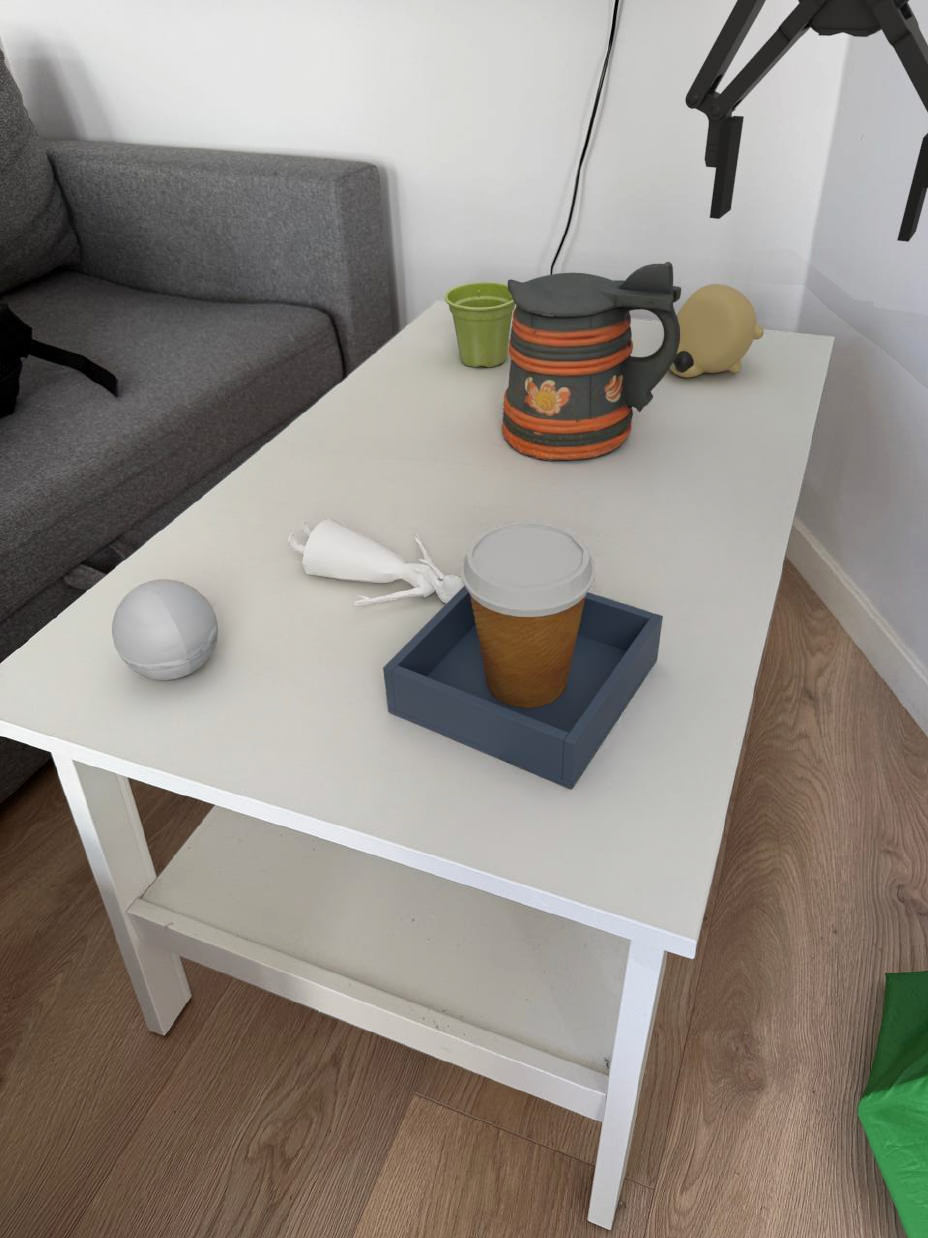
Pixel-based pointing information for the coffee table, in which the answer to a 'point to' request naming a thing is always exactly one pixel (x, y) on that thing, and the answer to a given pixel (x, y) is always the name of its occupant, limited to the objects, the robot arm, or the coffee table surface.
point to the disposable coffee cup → (527, 607)
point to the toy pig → (714, 331)
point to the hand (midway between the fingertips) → (809, 224)
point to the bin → (525, 737)
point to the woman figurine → (370, 563)
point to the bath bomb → (164, 629)
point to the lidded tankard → (583, 360)
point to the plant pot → (481, 321)
